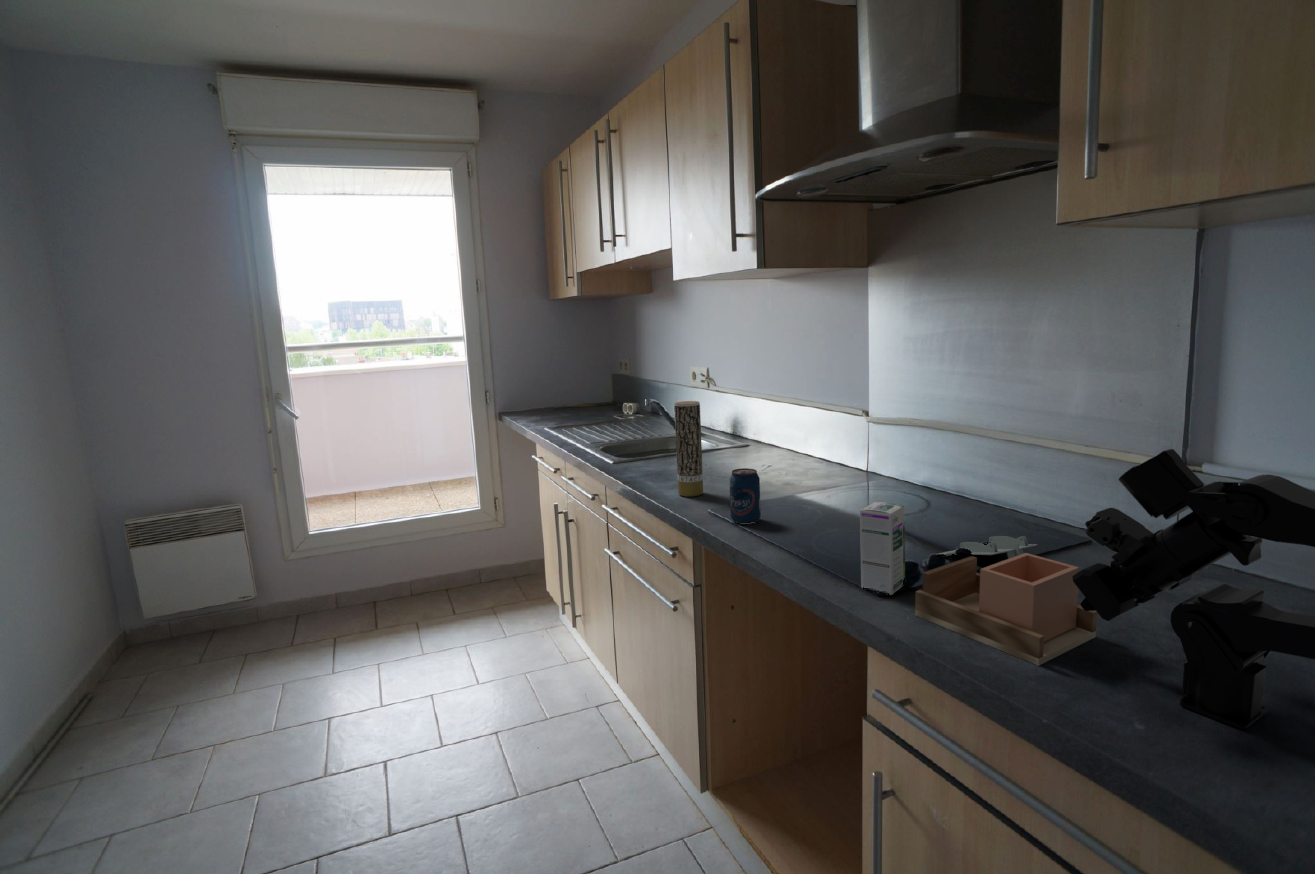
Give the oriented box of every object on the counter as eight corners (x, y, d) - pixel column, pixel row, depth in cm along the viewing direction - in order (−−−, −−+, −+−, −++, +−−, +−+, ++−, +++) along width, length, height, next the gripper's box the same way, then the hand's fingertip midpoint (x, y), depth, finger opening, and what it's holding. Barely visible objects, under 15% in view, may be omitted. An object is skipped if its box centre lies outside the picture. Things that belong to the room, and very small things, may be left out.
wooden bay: (1095, 637, 102) (1098, 591, 101) (1038, 665, 95) (1040, 616, 94) (971, 593, 119) (972, 554, 118) (915, 615, 112) (915, 573, 111)
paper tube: (679, 491, 196) (675, 401, 192) (703, 490, 195) (700, 400, 191) (677, 497, 189) (673, 404, 185) (702, 497, 189) (699, 404, 184)
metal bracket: (1048, 532, 131) (985, 545, 126) (1054, 564, 130) (991, 578, 125) (989, 533, 144) (929, 545, 139) (994, 562, 144) (935, 575, 138)
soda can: (729, 525, 163) (727, 474, 161) (732, 516, 170) (731, 467, 168) (759, 525, 162) (758, 474, 159) (761, 517, 168) (760, 467, 166)
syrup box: (892, 596, 120) (893, 513, 117) (859, 588, 123) (859, 508, 121) (905, 585, 124) (906, 504, 121) (873, 578, 128) (873, 500, 125)
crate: (1075, 626, 103) (1079, 567, 101) (1031, 648, 97) (1033, 585, 96) (1023, 608, 109) (1025, 552, 108) (978, 627, 104) (980, 569, 102)
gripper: (1170, 481, 93) (1080, 542, 104) (1092, 507, 84) (1003, 570, 95) (1238, 554, 88) (1136, 609, 99) (1163, 590, 78) (1059, 647, 90)
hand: (1083, 607), depth 96 cm, fingers closed
